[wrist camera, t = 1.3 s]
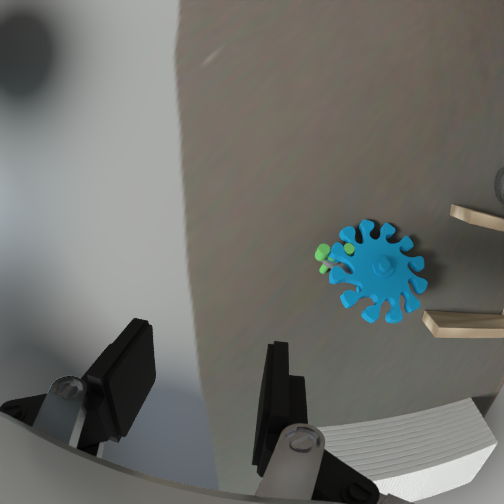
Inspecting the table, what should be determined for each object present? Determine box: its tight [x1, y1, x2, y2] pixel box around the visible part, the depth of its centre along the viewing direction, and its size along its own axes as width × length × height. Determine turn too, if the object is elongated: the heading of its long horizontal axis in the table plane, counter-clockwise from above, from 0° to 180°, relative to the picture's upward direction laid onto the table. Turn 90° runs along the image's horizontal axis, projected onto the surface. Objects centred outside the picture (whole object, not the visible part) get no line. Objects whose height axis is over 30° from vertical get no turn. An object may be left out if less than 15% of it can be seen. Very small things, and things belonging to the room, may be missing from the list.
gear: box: [315, 220, 428, 323], centre depth 28 cm, size 11×6×10 cm
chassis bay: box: [422, 204, 504, 338], centre depth 27 cm, size 13×15×4 cm
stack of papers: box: [261, 398, 497, 502], centre depth 32 cm, size 32×11×11 cm, turn 96°
